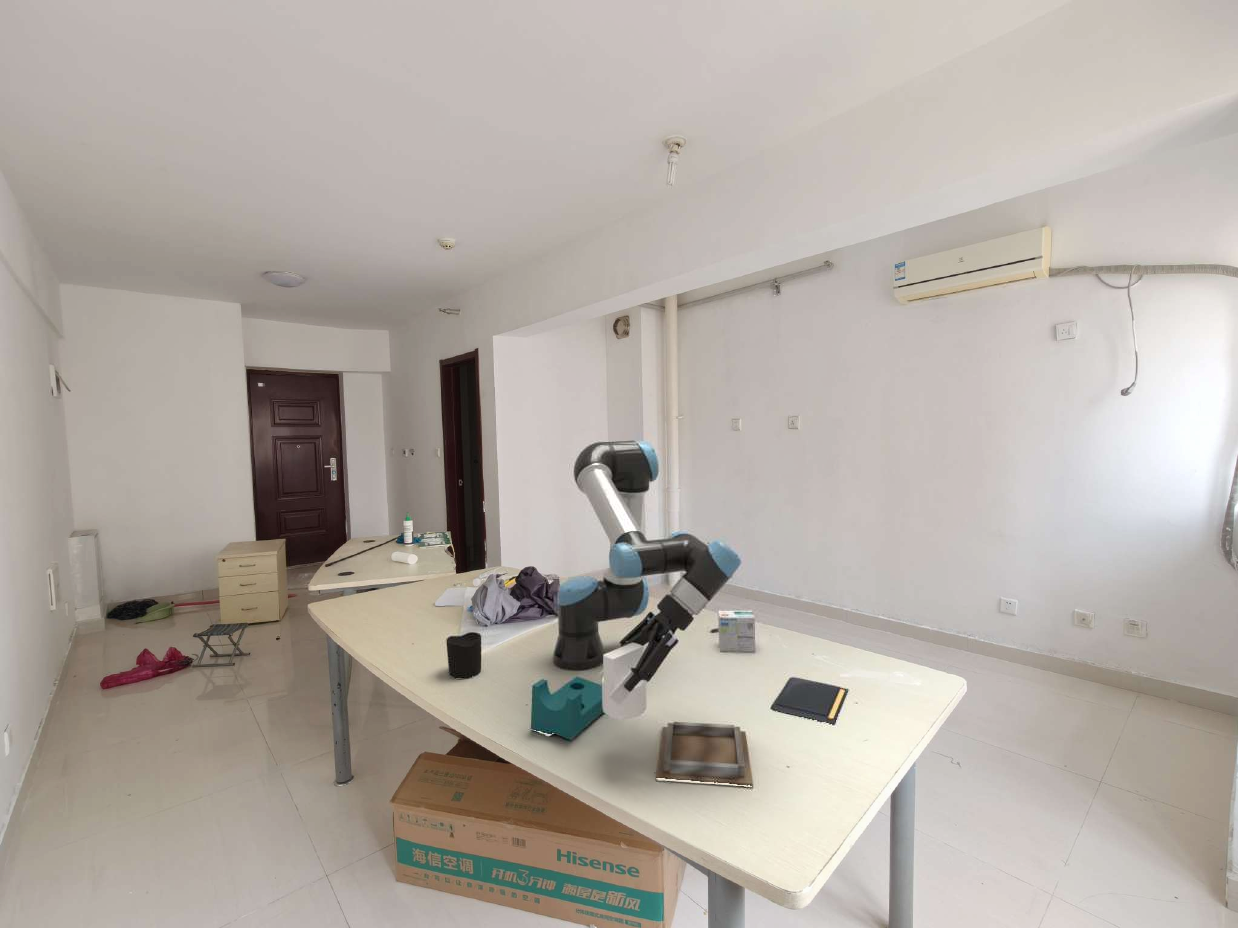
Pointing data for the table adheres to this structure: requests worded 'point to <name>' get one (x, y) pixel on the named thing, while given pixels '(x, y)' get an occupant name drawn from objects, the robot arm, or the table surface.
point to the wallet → (810, 700)
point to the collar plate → (704, 753)
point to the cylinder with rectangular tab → (614, 672)
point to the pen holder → (464, 655)
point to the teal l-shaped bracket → (565, 707)
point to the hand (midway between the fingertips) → (608, 688)
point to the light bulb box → (736, 631)
